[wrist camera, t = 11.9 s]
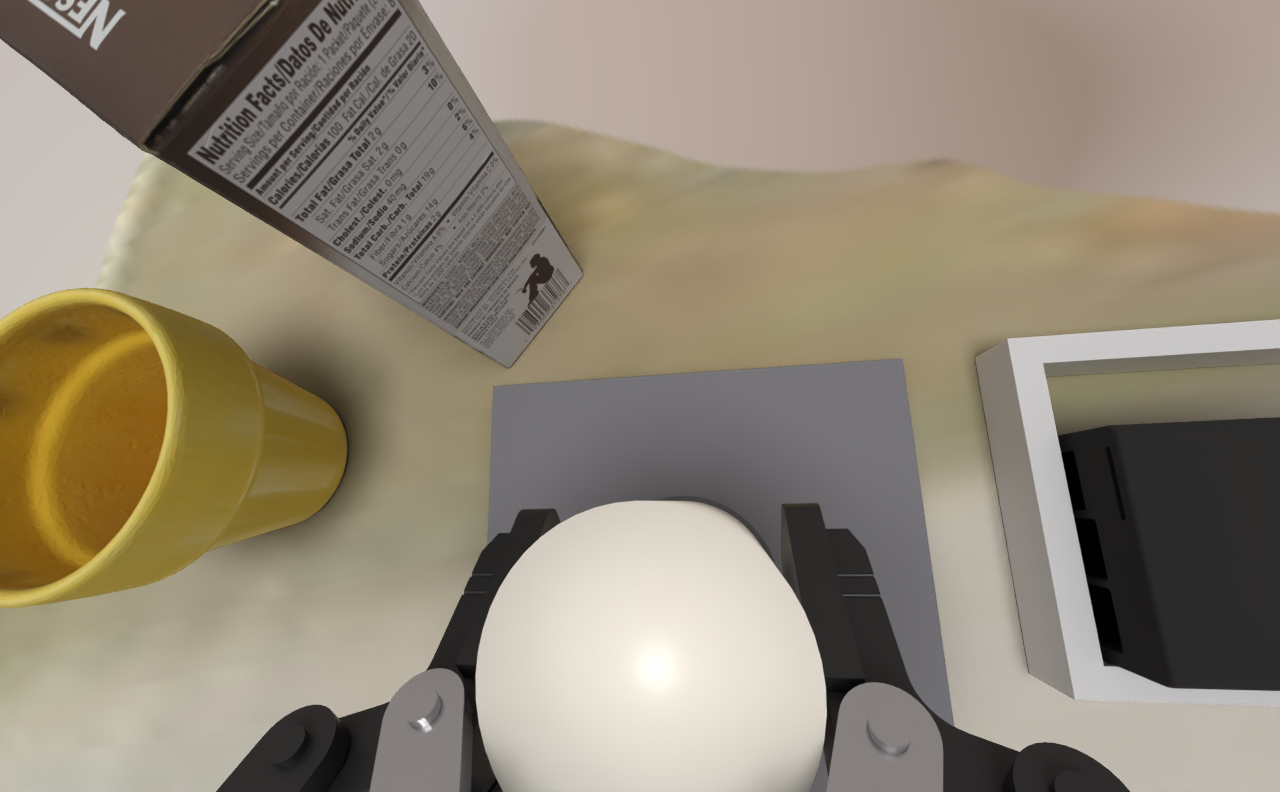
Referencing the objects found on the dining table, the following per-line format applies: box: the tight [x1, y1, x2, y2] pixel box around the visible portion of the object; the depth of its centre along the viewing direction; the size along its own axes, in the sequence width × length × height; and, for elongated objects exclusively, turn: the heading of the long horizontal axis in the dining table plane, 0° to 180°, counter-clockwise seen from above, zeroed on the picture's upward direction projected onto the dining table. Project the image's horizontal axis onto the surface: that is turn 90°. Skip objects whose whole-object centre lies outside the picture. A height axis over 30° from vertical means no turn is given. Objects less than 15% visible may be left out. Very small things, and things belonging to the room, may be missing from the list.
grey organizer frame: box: [975, 319, 1280, 707], centre depth 17 cm, size 16×12×2 cm
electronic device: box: [1058, 418, 1280, 691], centre depth 16 cm, size 7×11×5 cm
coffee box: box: [0, 0, 583, 368], centre depth 18 cm, size 9×6×16 cm
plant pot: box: [0, 288, 347, 608], centre depth 21 cm, size 10×10×10 cm
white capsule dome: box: [476, 496, 827, 792], centre depth 13 cm, size 5×5×12 cm
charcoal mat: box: [488, 359, 954, 792], centre depth 21 cm, size 18×16×1 cm
